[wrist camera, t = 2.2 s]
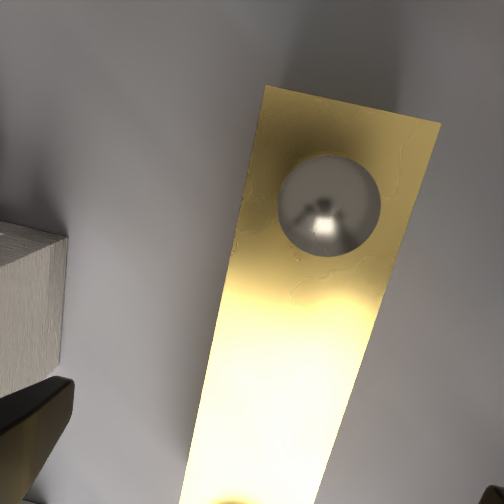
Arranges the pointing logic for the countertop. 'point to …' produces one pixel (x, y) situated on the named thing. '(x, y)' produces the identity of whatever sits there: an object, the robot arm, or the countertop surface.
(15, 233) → the chain ends
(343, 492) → the countertop surface
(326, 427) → the link
